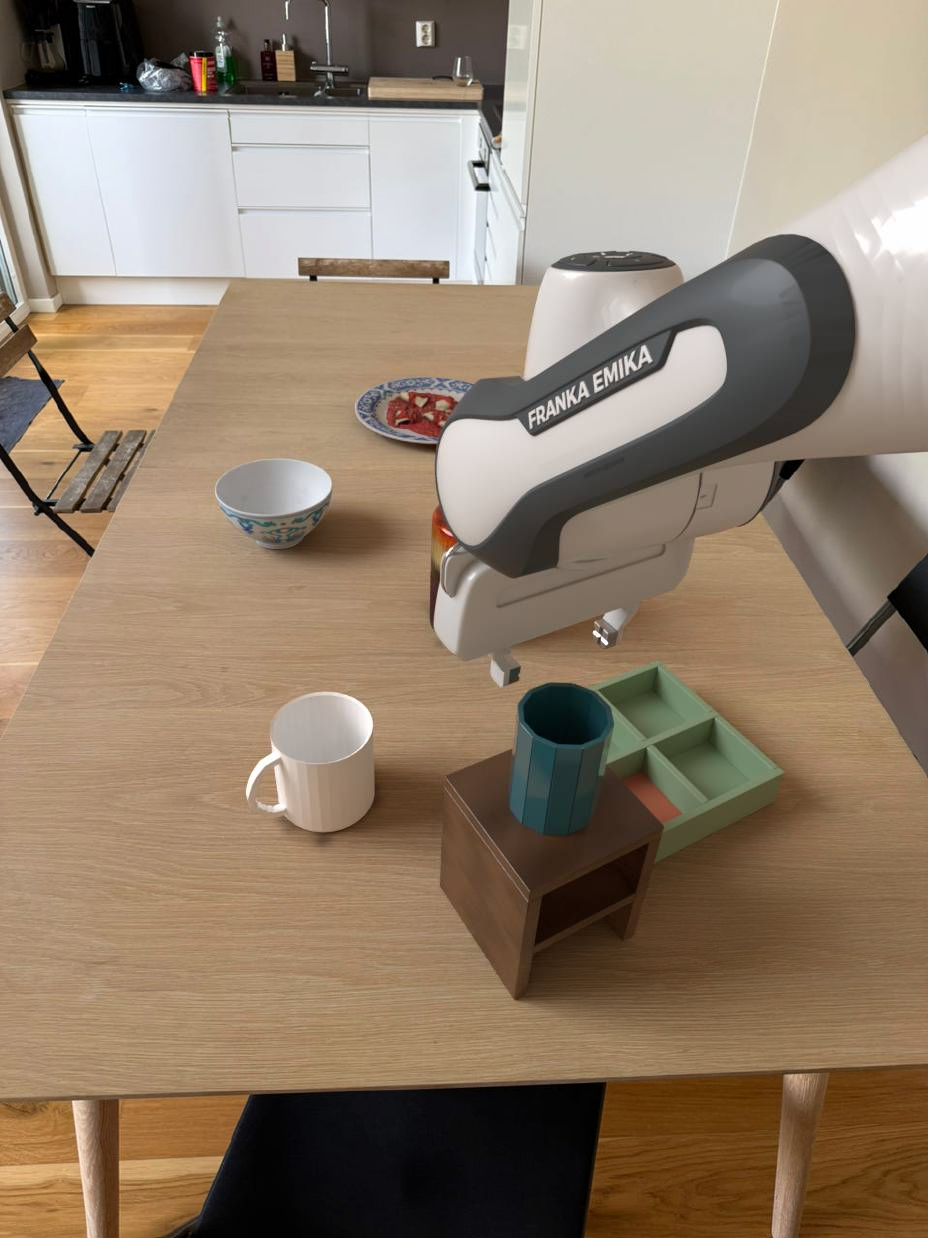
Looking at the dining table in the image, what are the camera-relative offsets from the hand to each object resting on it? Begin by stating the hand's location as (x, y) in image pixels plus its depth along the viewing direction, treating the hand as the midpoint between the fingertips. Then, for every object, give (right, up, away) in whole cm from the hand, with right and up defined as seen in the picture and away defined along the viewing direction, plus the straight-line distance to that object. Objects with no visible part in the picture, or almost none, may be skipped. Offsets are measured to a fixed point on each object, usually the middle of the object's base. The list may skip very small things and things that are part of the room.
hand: (556, 661), depth 68 cm
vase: (-6, +3, +40) cm, 40 cm away
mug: (-21, -14, +16) cm, 31 cm away
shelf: (-1, -22, +8) cm, 23 cm away
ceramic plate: (-13, +37, +83) cm, 92 cm away
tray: (+11, -12, +21) cm, 26 cm away
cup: (0, -10, -1) cm, 11 cm away
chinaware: (-32, +14, +53) cm, 63 cm away
